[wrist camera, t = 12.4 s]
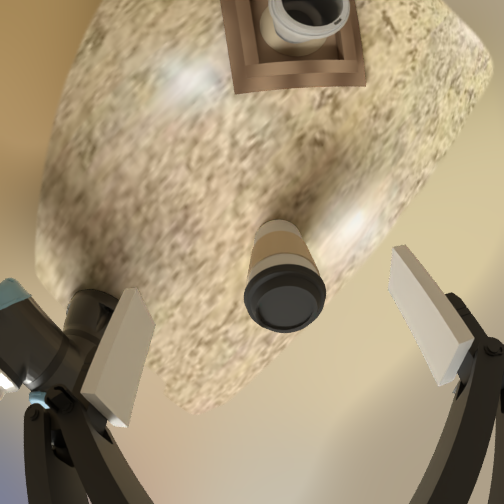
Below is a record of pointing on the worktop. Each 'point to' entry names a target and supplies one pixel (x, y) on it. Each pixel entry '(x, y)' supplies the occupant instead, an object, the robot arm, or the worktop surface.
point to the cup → (308, 18)
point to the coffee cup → (283, 280)
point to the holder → (288, 52)
